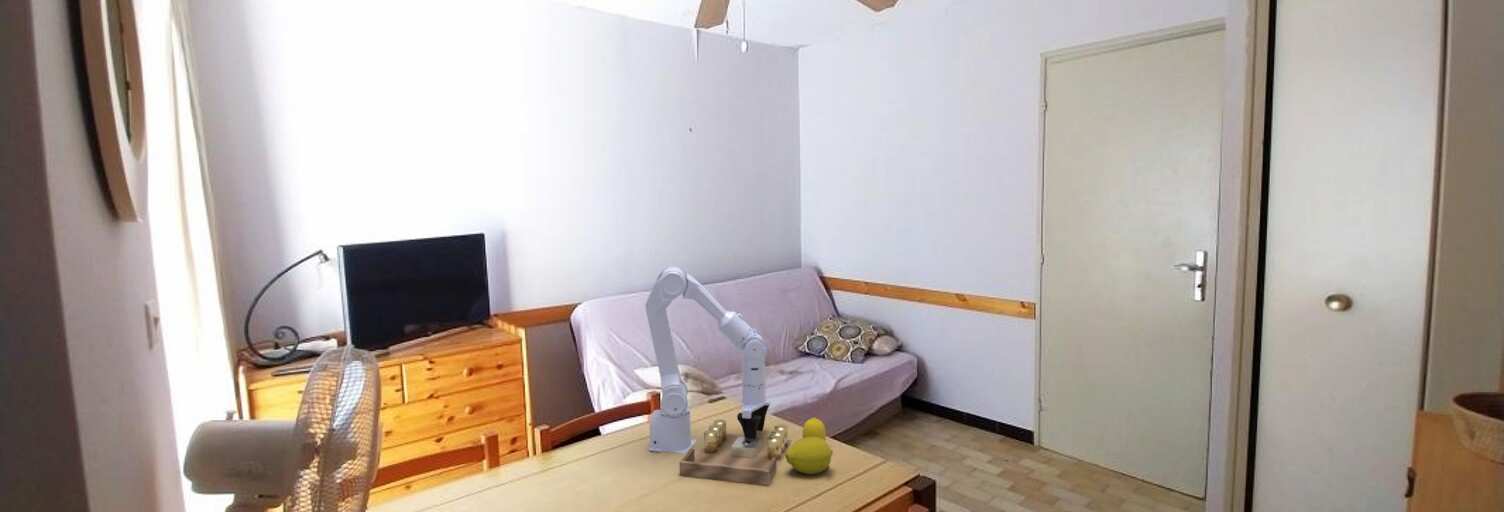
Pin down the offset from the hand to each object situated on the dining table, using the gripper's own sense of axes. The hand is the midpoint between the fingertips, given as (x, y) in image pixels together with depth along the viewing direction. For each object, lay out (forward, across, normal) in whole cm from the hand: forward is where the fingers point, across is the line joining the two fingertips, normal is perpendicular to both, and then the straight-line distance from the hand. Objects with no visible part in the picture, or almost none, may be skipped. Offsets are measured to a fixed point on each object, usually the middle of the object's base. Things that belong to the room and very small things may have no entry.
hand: (754, 436), depth 154 cm
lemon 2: (+2, -13, -16) cm, 21 cm away
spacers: (+1, -5, +1) cm, 5 cm away
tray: (+2, -10, +1) cm, 10 cm away
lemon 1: (+2, -1, -15) cm, 15 cm away
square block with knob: (+1, -7, 0) cm, 7 cm away
